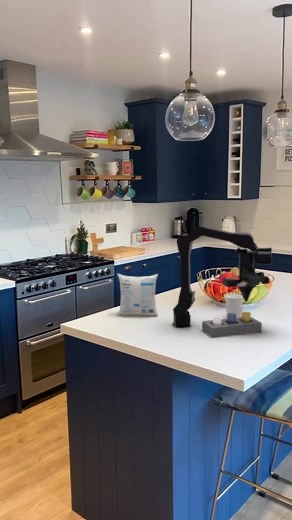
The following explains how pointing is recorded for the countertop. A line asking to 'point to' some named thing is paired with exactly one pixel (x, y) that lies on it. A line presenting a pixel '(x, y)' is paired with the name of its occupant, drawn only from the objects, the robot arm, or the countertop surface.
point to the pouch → (137, 294)
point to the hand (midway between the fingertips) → (245, 301)
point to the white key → (217, 321)
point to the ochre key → (246, 317)
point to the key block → (231, 327)
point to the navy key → (231, 318)
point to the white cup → (234, 304)
